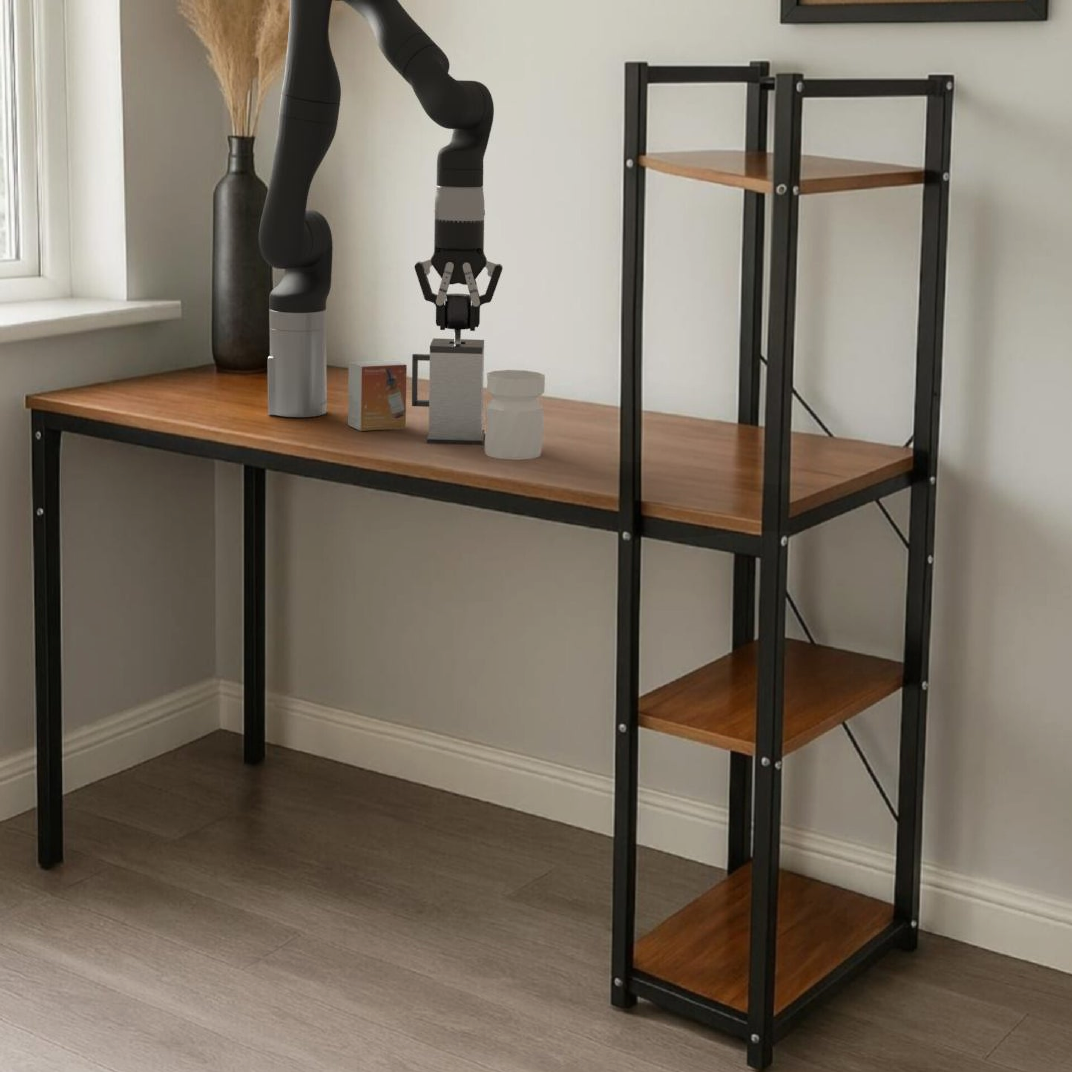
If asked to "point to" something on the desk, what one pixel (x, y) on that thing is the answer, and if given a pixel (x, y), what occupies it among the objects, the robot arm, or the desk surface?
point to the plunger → (457, 314)
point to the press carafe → (453, 391)
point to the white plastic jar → (514, 414)
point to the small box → (377, 395)
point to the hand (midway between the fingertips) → (457, 329)
